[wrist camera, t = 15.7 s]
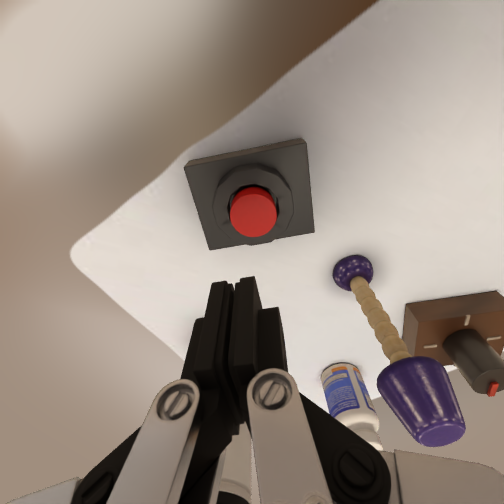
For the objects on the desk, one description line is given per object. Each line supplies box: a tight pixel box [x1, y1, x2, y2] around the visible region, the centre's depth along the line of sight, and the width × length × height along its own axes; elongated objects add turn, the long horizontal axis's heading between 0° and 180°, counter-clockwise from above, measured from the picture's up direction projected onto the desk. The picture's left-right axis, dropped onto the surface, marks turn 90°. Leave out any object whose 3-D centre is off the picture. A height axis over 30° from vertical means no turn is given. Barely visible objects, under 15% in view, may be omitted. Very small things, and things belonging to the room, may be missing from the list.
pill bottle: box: [321, 363, 383, 451], centre depth 36 cm, size 5×5×10 cm
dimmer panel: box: [402, 291, 504, 366], centre depth 33 cm, size 10×8×3 cm
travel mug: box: [216, 422, 251, 504], centre depth 28 cm, size 6×7×20 cm
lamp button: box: [230, 187, 277, 237], centre depth 23 cm, size 4×4×2 cm
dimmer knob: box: [443, 329, 504, 397], centre depth 30 cm, size 4×4×5 cm
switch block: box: [184, 138, 315, 250], centre depth 25 cm, size 10×8×4 cm
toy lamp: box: [333, 255, 466, 447], centre depth 24 cm, size 5×5×17 cm
